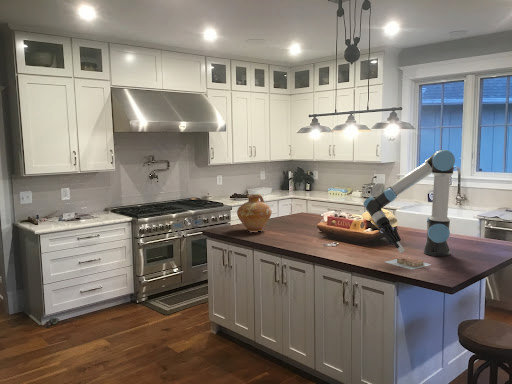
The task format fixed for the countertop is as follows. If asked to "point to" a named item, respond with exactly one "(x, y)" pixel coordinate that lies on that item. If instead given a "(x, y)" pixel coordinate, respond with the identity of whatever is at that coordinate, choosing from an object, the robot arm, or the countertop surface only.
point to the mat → (405, 265)
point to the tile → (410, 261)
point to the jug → (254, 213)
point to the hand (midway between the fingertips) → (402, 252)
